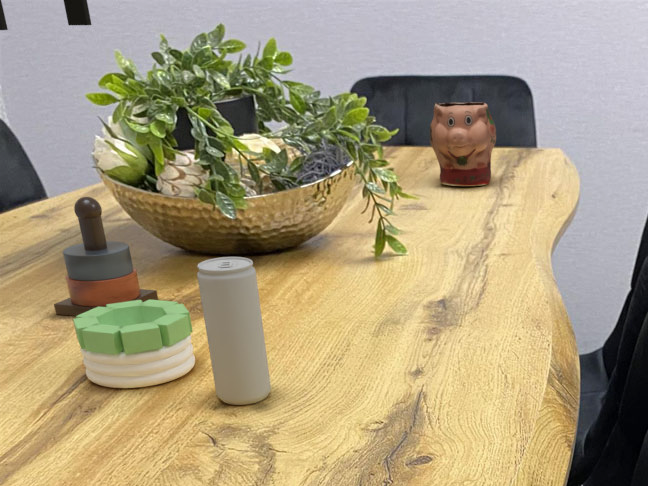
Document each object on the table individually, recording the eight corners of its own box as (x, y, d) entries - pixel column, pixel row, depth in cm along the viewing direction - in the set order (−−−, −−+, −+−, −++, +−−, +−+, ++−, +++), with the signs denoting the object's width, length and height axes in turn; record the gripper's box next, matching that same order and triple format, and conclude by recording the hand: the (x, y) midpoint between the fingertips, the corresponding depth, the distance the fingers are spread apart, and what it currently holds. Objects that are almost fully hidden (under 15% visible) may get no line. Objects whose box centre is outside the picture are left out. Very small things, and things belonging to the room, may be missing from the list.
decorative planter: (430, 173, 189) (427, 97, 182) (492, 172, 189) (491, 95, 183) (432, 193, 171) (428, 108, 165) (501, 191, 172) (500, 107, 165)
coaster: (81, 395, 87) (73, 358, 86) (92, 359, 96) (84, 325, 94) (196, 383, 90) (189, 347, 88) (196, 349, 98) (190, 315, 97)
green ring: (55, 348, 88) (50, 326, 87) (124, 316, 97) (120, 296, 96) (148, 358, 86) (144, 336, 85) (211, 324, 94) (207, 304, 93)
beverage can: (214, 408, 84) (192, 272, 79) (219, 388, 88) (198, 258, 83) (271, 404, 85) (252, 269, 79) (273, 384, 89) (256, 254, 84)
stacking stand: (55, 314, 110) (29, 202, 104) (101, 295, 116) (79, 188, 110) (115, 320, 107) (91, 205, 101) (158, 300, 114) (138, 191, 108)
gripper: (-79, -227, 88) (-17, 32, 98) (100, -187, 109) (136, 23, 119) (-142, -221, 90) (-75, 32, 100) (46, -183, 111) (85, 23, 121)
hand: (39, 28), depth 109 cm, fingers open, 13 cm apart
